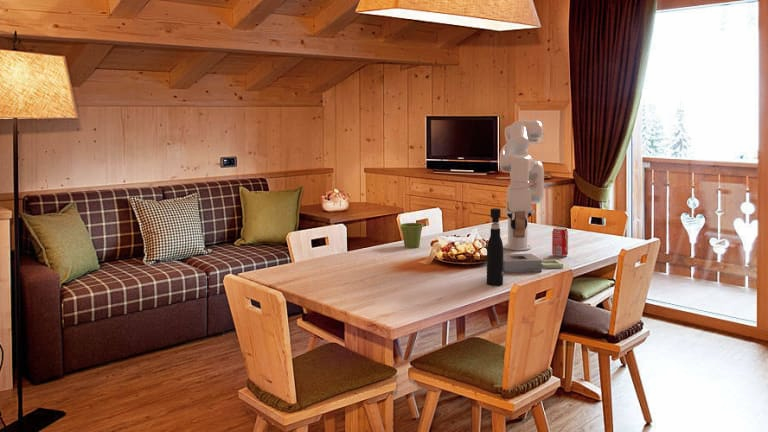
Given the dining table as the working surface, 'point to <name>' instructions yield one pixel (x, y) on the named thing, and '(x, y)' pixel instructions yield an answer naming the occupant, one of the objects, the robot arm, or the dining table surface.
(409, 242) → the plant pot
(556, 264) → the holder tray
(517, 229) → the walnut peg
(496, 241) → the wine bottle
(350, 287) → the dining table surface
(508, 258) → the block
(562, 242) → the soda can
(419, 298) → the dining table surface
